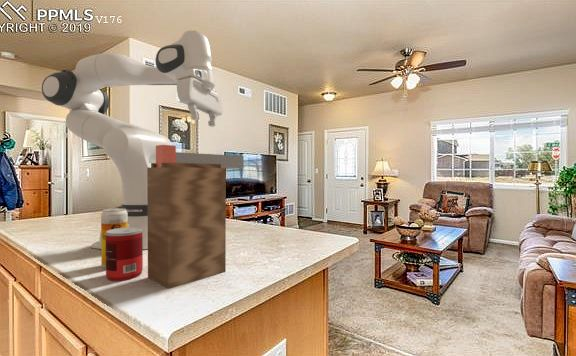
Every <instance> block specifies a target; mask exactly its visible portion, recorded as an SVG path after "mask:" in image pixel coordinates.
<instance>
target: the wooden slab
mask: <svg viewBox="0 0 576 356" xmlns="http://www.w3.org/2000/svg"><path fill="white" fill-rule="evenodd" d="M226 171H227V170H226V168H221V164H192V163H162V167H156V163H150V168H147V199H148V249H147V278H148V279H150V280H152V281H153V282H155V283H157V284H160V285H161V286H163V287H165V288H167V289H172V288H174V287H178V286H181V285H185V284H189V283H192V282H196V281H199V280H202V279H206V278H208V277H211V276H215V275H220V274H222V273H225V272H226V271H227V270H226V267H227V266H226V262H227V261H226V257H227V255H226V250H227V249H226V247H227V244H226V238H227V237H226V232H227V231H226V227H227V226H226V222H227V221H226V210H227V209H226V208H227V206H226V198H227V196H226V195H227V194H226V193H227V191H226V190H227V189H226V183H227V182H226V177H227V176H226V173H227V172H226Z"/></svg>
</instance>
